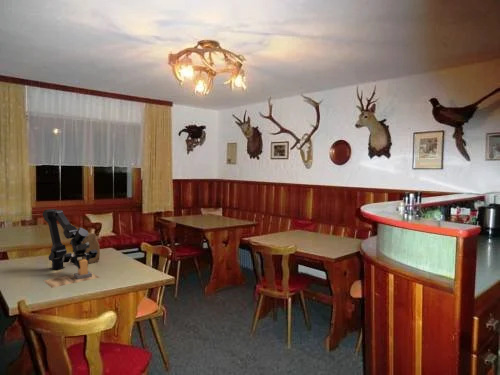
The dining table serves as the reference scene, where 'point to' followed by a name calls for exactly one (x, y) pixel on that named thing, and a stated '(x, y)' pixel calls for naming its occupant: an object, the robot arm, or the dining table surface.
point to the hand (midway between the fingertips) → (83, 267)
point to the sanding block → (83, 270)
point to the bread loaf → (92, 247)
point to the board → (67, 280)
